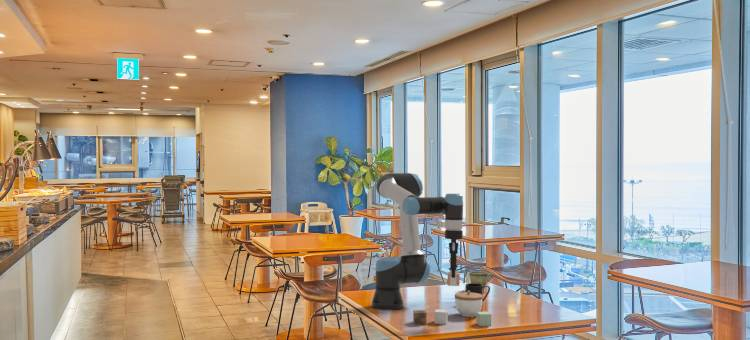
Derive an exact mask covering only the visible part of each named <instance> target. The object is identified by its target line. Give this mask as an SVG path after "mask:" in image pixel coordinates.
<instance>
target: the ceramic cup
mask: <svg viewBox="0 0 750 340" xmlns="http://www.w3.org/2000/svg"><path fill="white" fill-rule="evenodd" d="M468 274H469V280H470V284H481V285H483V286H487V284H488V283H489V282H490V281H492V280H493V279H494V276H493V274H491V273H488V272H487V271H482V270H471V271H469V272H468ZM490 276H492V277H491V278H490V279H489V280H488V281H487V278H488V277H490ZM485 288H486V287H484V288H483V292H485Z"/></svg>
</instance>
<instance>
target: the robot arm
mask: <svg viewBox="0 0 750 340" xmlns="http://www.w3.org/2000/svg"><path fill="white" fill-rule="evenodd" d="M423 185H424V184H423V180H422V179H421V178H420V176H419V175H418V174H417V173H411V172H410V173H409V172H404V173H403V172H398V173H397V172H396V173H395V172H394V173H392V172H388V173H385V174H383V175H381V176H380V177H379V178H378V179H377V181H376V183H375V188H376V189H375V190H376V193H377V194H378V195H379V196H381V197H382V198H384V199H389V200H391V201H393V202H394V203H396V204H397V205H399V217H400V218H399V220H400V230H401V240H402V253H401V255H400V257H399V256H395V255H394V256H384V257H381V258H379V259H377V260H376V262H375V269H374V271H375V292H374V293H373V297H372V300H371V308H373V309H376V310H385V311H386V310H387V311H389V310H390V311H393V310H400V309H403V308H404V300H403V296H402V293H401V289H400V288H401V285H403V284H404V285H405V284H406V285H407V284H419V283H424V282H426V281H427V280H428V279H429V277H430V272H431V263H430V261H429V259H428V258H427V257H425V253H424V252H423V251H422V249H421V238H420V229H419V228H420V227H419V215H421V216H422V215H444V216H445V218H444V229H445V231H444V239H446V240H450V242H449V243H448V247H449V254H450V265H449V266H450V267H448V270H449V272H450V285H456V279H457V268H459V264H458V265H457V254H458V252H459V251H458V249H459V243H458V242H457V240H461V239H462V240H463V237H464V236H463V227H464V226H463V225H465V222H464V221H463V216H464V214H463V213H464V198H463V197H464V196H463V194H462V193H446V194H445V196H444V197H443V196H436V197H435V196H433V197H431V196H426V197H424V196H422V194H423V190H424V189H423V188H424V186H423Z"/></svg>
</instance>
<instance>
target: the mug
mask: <svg viewBox="0 0 750 340" xmlns="http://www.w3.org/2000/svg"><path fill="white" fill-rule="evenodd" d="M484 287H485V288H488V289H487V293H486V294H485V296H483V298H482V304H483V303H484V301H485V300H486V298H487V297H488V295H489V293H490V292H491V291H490V290H491V287H490V286H489V285H485V286H483V285H481V284H471V283H466V284H465V292H467V291H468V290H469V291H470V292H471V293H478V294H481V295H483V292H484V291H483V288H484ZM485 288H484V289H485Z"/></svg>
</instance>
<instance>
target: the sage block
mask: <svg viewBox="0 0 750 340" xmlns="http://www.w3.org/2000/svg"><path fill="white" fill-rule="evenodd" d="M475 318H476V319H475V322H476V325H478V326H479V327H492V313H491V312H489V311H480V312H476V316H475Z"/></svg>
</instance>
